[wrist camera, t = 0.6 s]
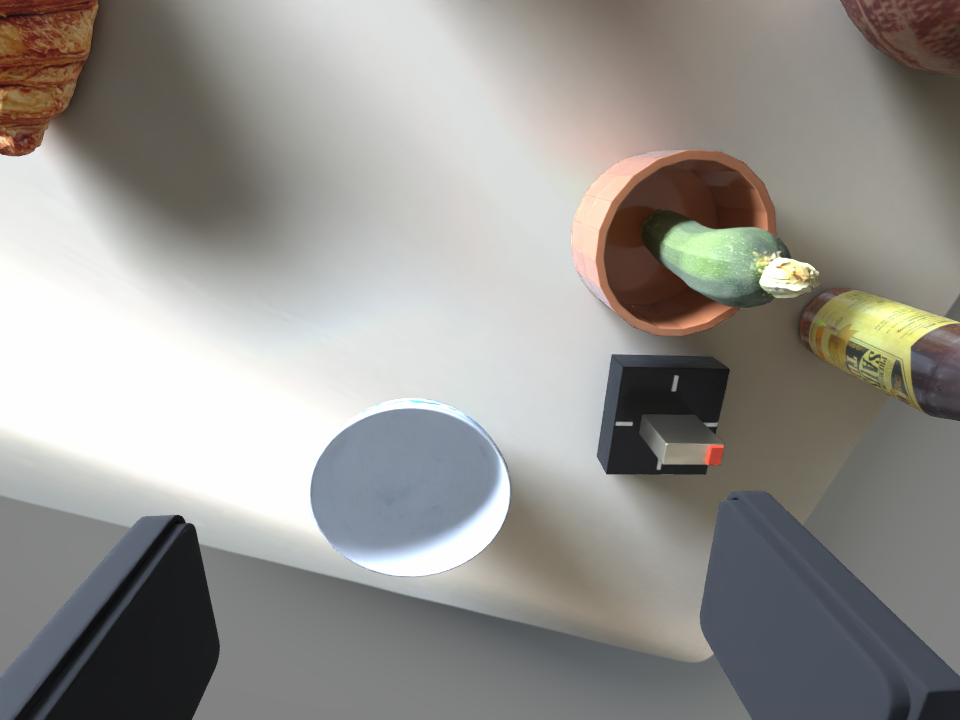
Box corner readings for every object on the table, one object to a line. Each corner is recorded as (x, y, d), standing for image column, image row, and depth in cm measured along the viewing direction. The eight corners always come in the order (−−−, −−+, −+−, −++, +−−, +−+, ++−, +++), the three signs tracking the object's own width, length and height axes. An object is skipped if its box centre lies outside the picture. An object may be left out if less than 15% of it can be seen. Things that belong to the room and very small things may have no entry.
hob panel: (611, 354, 45) (623, 367, 42) (712, 356, 46) (731, 369, 43) (596, 456, 48) (606, 475, 45) (690, 457, 49) (707, 475, 46)
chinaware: (292, 444, 46) (265, 497, 38) (417, 331, 43) (413, 365, 36) (414, 543, 50) (410, 607, 43) (534, 447, 48) (551, 498, 40)
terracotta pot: (580, 147, 39) (609, 144, 32) (738, 156, 40) (796, 155, 33) (563, 308, 43) (585, 334, 37) (706, 312, 44) (752, 338, 38)
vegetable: (684, 244, 42) (884, 312, 23) (636, 274, 42) (793, 363, 24) (661, 195, 40) (854, 224, 22) (611, 226, 41) (758, 281, 22)
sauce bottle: (779, 324, 45) (1019, 438, 27) (838, 269, 44) (1134, 348, 25) (822, 370, 47) (1074, 506, 28) (880, 318, 46) (1184, 426, 27)
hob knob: (638, 433, 44) (663, 466, 39) (641, 413, 44) (667, 445, 39) (691, 433, 45) (722, 466, 40) (695, 414, 44) (727, 445, 39)
